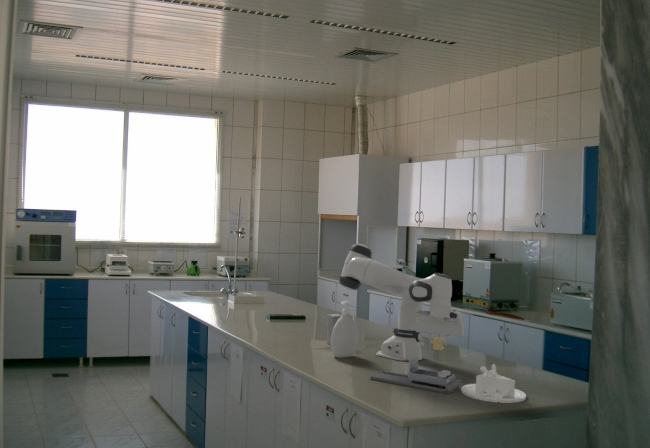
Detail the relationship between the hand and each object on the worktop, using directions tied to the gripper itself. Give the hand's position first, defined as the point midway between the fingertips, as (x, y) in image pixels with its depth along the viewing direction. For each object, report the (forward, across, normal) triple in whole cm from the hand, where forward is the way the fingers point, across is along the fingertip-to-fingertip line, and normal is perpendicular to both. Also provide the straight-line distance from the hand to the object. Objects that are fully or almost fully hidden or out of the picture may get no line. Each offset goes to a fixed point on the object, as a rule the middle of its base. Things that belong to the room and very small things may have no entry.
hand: (438, 345), depth 277 cm
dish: (+16, +24, -10) cm, 30 cm away
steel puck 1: (+11, +4, -14) cm, 19 cm away
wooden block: (+2, 0, 0) cm, 2 cm away
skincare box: (+15, -61, +54) cm, 83 cm away
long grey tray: (+14, 0, -11) cm, 18 cm away
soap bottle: (+15, -49, +27) cm, 58 cm away
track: (+15, -8, -9) cm, 19 cm away
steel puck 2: (+11, +5, -10) cm, 16 cm away
